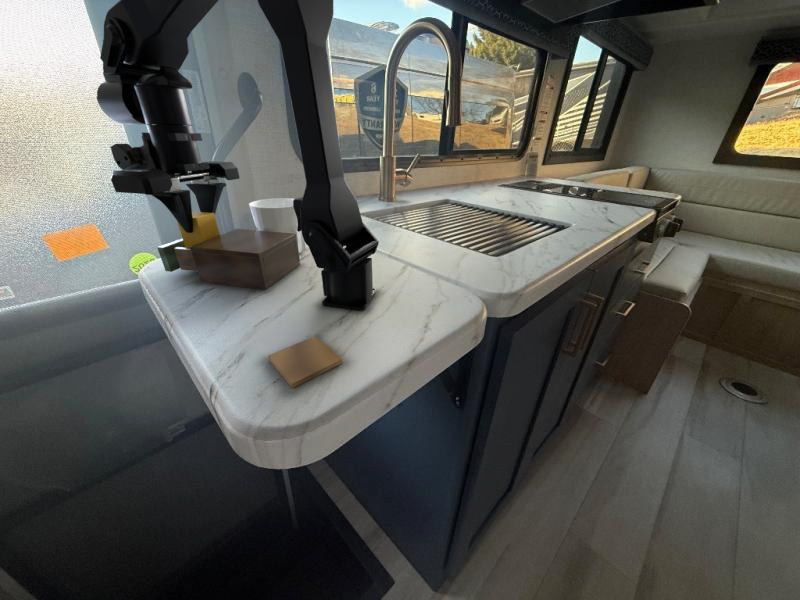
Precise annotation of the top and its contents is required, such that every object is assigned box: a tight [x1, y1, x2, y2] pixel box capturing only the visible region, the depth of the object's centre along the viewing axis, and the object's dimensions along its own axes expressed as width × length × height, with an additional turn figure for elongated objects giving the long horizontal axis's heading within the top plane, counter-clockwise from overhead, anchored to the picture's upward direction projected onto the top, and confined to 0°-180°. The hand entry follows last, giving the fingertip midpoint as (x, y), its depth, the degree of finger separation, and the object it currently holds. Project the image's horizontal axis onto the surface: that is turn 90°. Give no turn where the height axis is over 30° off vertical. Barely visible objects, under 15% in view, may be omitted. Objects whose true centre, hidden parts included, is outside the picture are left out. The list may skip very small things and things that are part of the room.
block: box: [176, 211, 221, 248], centre depth 54 cm, size 4×4×7 cm
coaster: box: [267, 336, 343, 389], centre depth 34 cm, size 6×6×1 cm
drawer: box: [156, 237, 198, 273], centre depth 55 cm, size 12×10×4 cm
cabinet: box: [190, 228, 301, 291], centre depth 54 cm, size 12×11×6 cm
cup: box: [248, 197, 306, 254], centre depth 64 cm, size 10×10×10 cm
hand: (199, 229), depth 54 cm, fingers closed on block, 4 cm apart
